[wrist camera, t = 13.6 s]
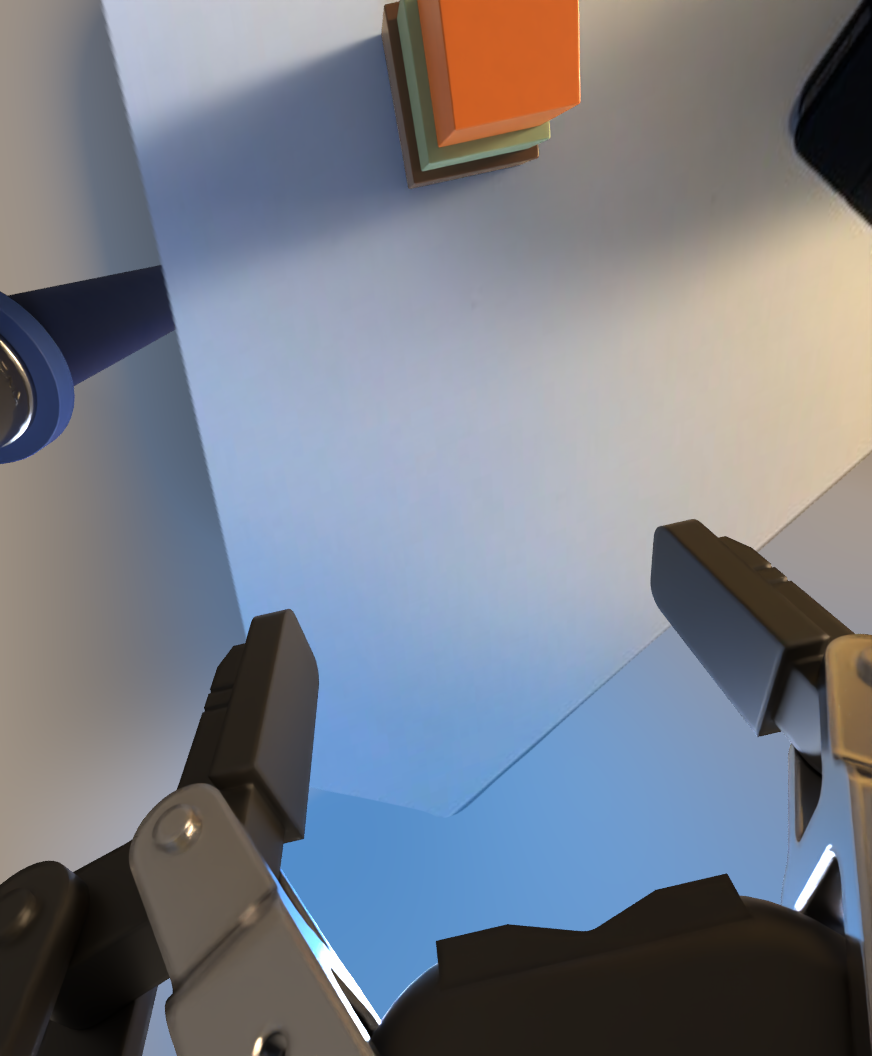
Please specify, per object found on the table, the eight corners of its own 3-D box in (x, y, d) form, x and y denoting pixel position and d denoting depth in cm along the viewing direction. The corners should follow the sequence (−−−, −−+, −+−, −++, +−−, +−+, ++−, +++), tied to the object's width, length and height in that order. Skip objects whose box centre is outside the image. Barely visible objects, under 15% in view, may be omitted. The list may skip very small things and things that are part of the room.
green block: (421, 171, 26) (428, 165, 23) (396, 16, 23) (401, -14, 20) (529, 148, 26) (550, 138, 23) (520, -10, 23) (543, -45, 20)
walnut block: (408, 189, 30) (414, 184, 26) (380, 32, 26) (383, 4, 23) (519, 165, 30) (539, 157, 26) (508, 5, 26) (529, -27, 23)
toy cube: (437, 148, 23) (454, 131, 19) (416, -2, 20) (430, -61, 16) (541, 125, 23) (580, 103, 19) (533, -27, 20) (578, -93, 16)
